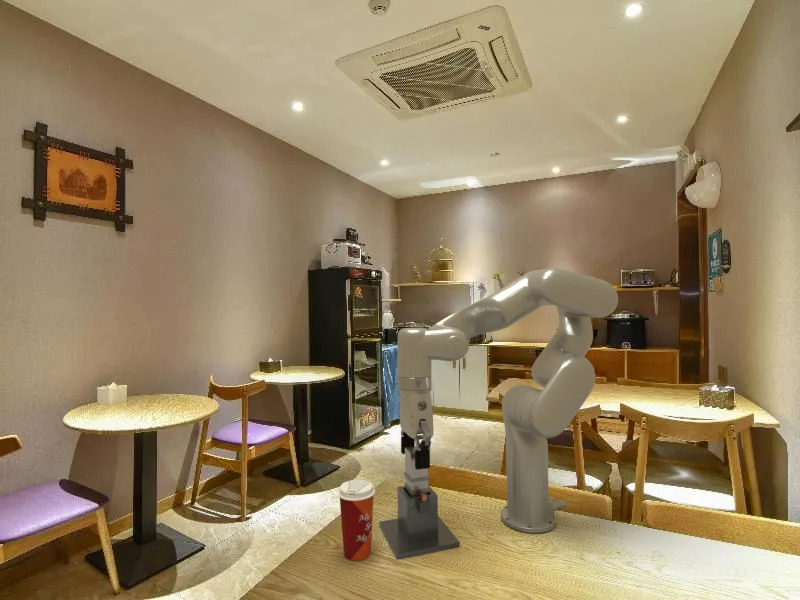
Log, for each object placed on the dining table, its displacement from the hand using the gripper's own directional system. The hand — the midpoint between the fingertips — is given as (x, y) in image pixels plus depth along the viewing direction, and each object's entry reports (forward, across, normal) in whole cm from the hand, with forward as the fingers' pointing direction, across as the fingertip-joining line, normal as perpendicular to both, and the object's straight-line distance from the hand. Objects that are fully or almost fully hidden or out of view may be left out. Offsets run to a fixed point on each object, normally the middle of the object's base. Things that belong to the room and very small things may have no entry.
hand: (414, 460), depth 97 cm
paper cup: (+17, -2, +13) cm, 22 cm away
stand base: (+17, 0, -1) cm, 17 cm away
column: (+15, 0, -1) cm, 16 cm away
